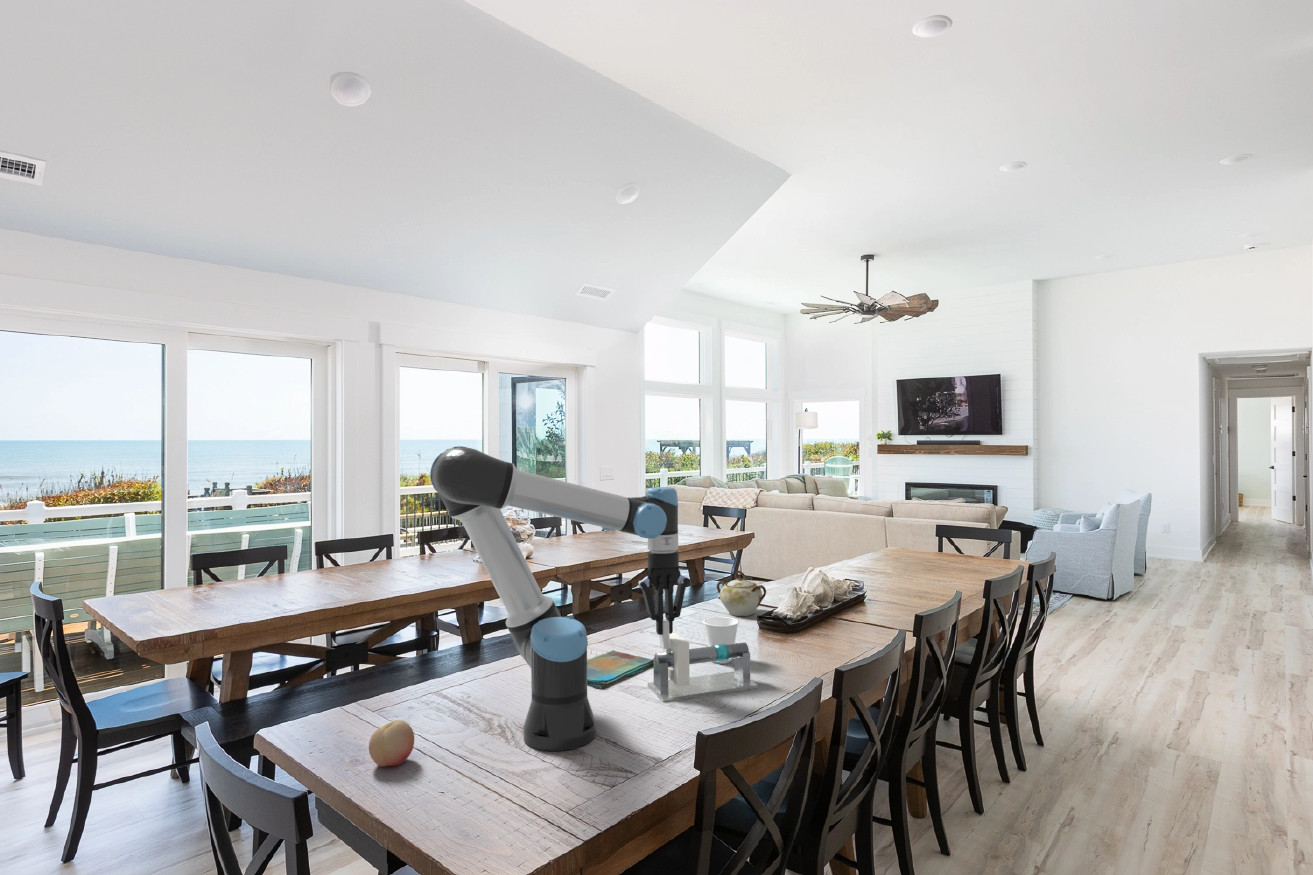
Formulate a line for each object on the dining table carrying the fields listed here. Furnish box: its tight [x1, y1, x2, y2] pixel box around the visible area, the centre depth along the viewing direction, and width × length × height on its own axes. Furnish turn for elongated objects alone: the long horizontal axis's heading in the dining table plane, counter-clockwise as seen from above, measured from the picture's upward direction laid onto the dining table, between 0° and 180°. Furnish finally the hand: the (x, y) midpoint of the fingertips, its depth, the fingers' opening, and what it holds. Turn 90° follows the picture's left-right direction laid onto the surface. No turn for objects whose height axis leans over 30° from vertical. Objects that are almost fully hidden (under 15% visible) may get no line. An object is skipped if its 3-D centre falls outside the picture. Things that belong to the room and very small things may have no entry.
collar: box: [662, 631, 690, 686], centre depth 172 cm, size 3×10×10 cm, turn 19°
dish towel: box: [587, 650, 653, 690], centre depth 188 cm, size 17×23×2 cm
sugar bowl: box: [716, 570, 767, 617], centre depth 245 cm, size 20×15×15 cm
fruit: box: [368, 719, 415, 768], centre depth 135 cm, size 8×8×8 cm
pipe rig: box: [647, 642, 759, 703], centre depth 174 cm, size 25×11×10 cm, turn 110°
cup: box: [702, 616, 740, 665], centre depth 195 cm, size 10×10×11 cm
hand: (664, 646), depth 171 cm, fingers closed
